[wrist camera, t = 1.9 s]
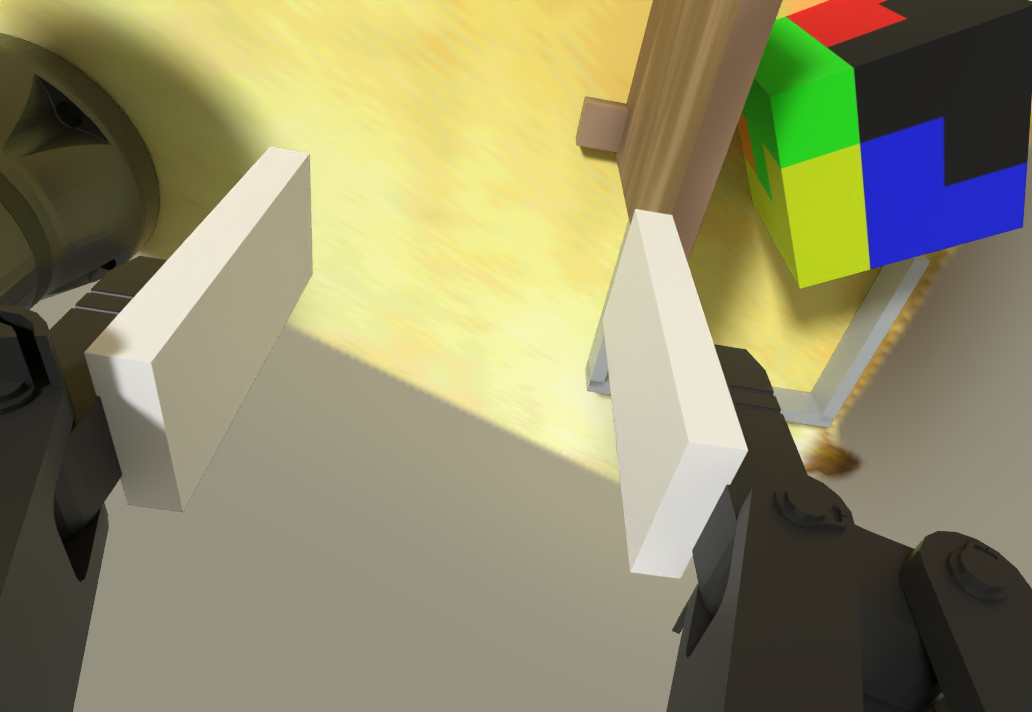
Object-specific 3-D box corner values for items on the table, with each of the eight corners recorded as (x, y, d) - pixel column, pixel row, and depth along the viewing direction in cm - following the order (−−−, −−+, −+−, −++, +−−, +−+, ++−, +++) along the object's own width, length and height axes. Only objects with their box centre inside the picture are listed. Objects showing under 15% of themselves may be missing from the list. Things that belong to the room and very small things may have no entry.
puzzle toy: (927, 148, 39) (1022, 227, 31) (752, 203, 42) (799, 288, 34) (923, -36, 34) (1037, 3, 26) (721, 40, 36) (769, 96, 28)
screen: (574, 142, 40) (586, 285, 27) (645, -178, 31) (711, -187, 18) (673, 160, 40) (730, 308, 28) (772, -151, 31) (924, -142, 19)
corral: (585, 369, 50) (587, 390, 48) (636, 194, 42) (640, 212, 40) (817, 404, 51) (828, 427, 49) (913, 242, 43) (930, 261, 41)
